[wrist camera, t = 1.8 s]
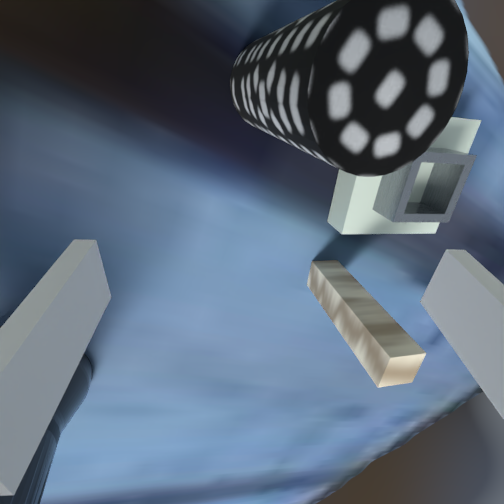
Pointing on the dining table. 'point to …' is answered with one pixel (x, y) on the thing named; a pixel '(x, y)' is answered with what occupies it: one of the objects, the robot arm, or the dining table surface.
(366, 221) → the mounting block
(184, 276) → the dining table surface
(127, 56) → the dining table surface
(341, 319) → the rail post
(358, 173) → the spotted tube
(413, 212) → the cup bracket
